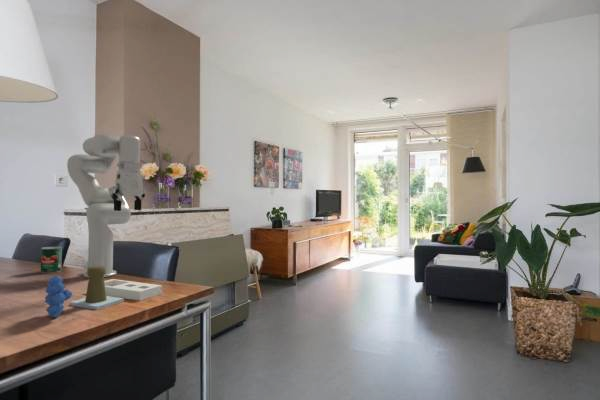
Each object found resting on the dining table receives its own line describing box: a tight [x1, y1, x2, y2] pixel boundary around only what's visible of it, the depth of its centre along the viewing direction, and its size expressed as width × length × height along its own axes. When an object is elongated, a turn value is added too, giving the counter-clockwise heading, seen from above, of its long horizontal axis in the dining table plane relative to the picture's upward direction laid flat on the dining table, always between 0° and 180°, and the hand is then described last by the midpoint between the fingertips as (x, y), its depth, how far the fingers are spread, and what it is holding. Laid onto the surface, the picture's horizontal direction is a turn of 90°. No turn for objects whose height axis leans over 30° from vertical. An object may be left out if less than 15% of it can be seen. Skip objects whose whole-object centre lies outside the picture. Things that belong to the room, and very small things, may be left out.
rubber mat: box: [69, 296, 125, 311], centre depth 118 cm, size 12×10×1 cm
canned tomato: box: [40, 245, 63, 274], centre depth 166 cm, size 8×8×11 cm
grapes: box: [44, 275, 73, 319], centre depth 104 cm, size 12×7×12 cm, turn 45°
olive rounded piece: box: [85, 266, 107, 303], centre depth 117 cm, size 6×6×11 cm
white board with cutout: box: [104, 278, 163, 301], centre depth 130 cm, size 24×10×3 cm, turn 68°
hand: (127, 210), depth 145 cm, fingers open, 9 cm apart
